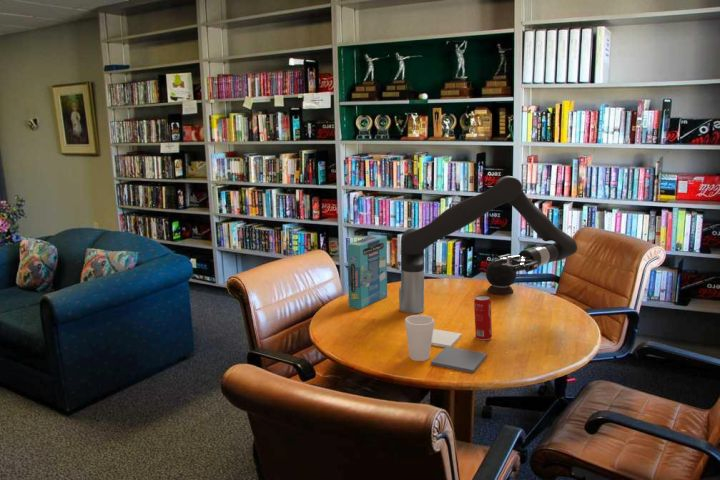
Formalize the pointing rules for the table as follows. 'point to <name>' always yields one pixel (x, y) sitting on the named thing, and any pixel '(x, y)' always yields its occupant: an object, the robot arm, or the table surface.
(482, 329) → the beverage can
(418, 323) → the foam cup
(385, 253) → the game box
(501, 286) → the ball on round base
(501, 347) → the table surface
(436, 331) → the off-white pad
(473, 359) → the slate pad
